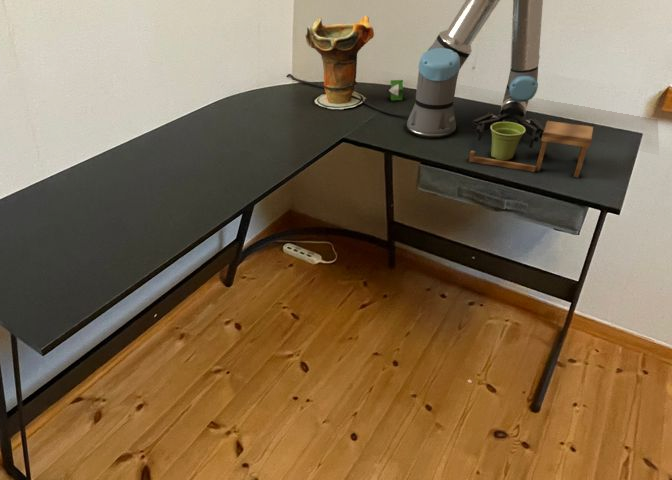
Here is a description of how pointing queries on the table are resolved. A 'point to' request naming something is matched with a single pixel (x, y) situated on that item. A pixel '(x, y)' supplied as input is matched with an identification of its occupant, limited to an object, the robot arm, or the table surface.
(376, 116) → the table surface
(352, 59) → the decorative vase
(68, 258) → the table surface
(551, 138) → the plant stand
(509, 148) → the plant pot
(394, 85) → the geometric puzzle
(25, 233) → the table surface
